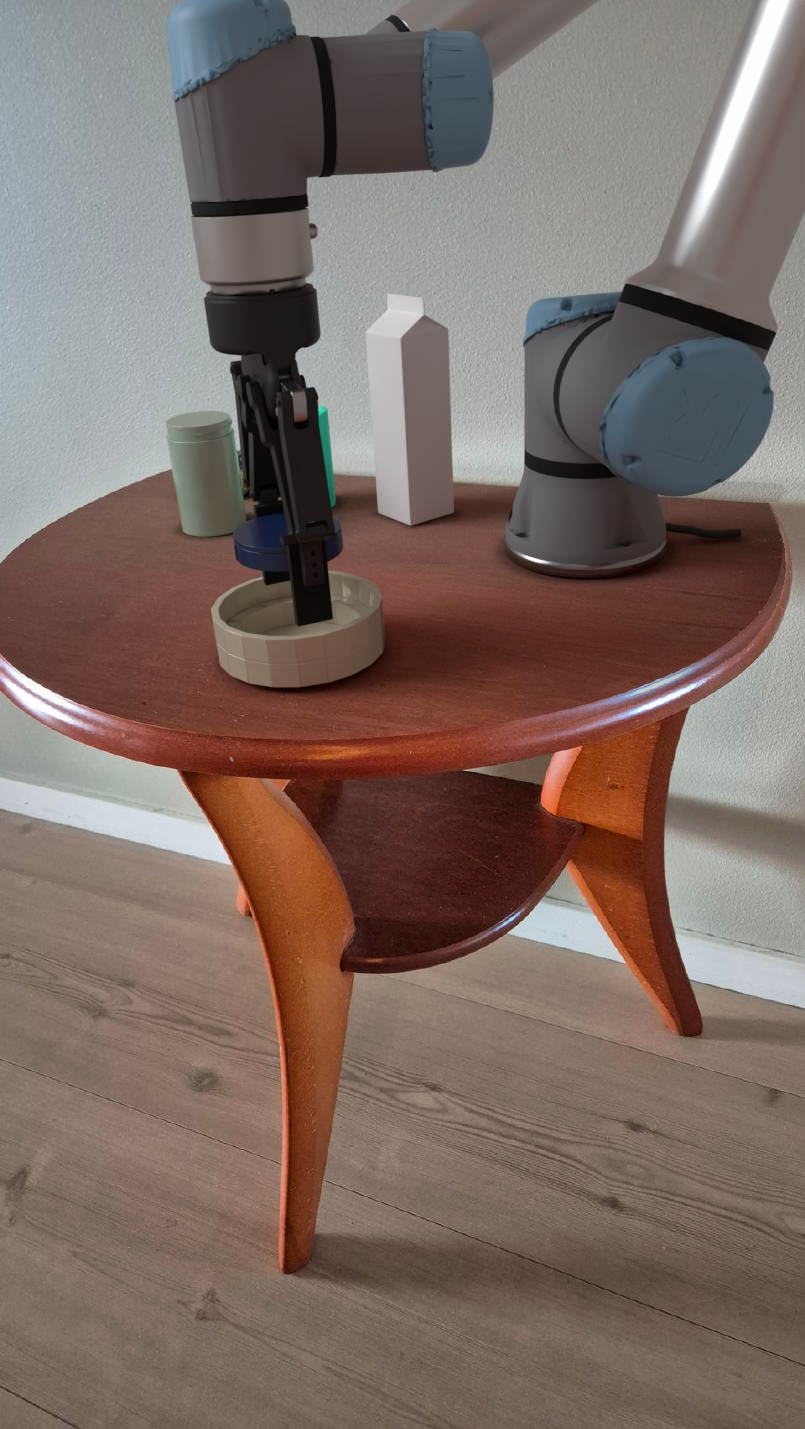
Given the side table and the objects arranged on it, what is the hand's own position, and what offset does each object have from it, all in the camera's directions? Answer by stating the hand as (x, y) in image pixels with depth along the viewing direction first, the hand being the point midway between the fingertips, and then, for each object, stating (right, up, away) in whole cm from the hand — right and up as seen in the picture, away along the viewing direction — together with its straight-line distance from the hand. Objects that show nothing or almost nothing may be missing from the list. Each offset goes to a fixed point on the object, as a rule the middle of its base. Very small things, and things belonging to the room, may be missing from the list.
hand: (296, 599), depth 77 cm
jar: (-12, +12, +31) cm, 35 cm away
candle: (-2, +15, +35) cm, 38 cm away
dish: (0, -4, +2) cm, 5 cm away
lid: (0, +5, -3) cm, 5 cm away
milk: (+10, +13, +31) cm, 35 cm away
